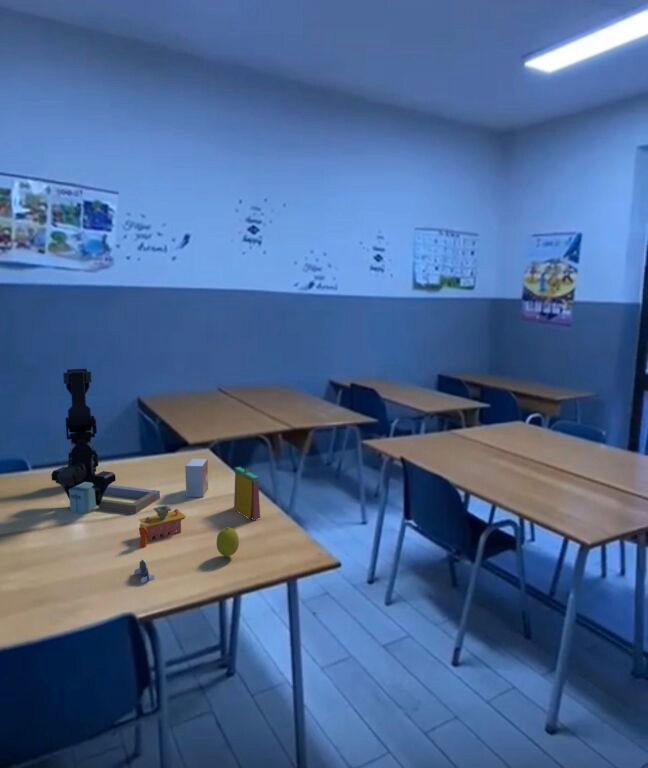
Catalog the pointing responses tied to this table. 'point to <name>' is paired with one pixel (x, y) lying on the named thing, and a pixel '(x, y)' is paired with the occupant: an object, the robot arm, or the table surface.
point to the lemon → (227, 541)
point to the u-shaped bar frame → (144, 495)
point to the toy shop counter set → (171, 521)
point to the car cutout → (144, 572)
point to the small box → (196, 477)
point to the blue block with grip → (82, 498)
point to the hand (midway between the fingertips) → (85, 503)
